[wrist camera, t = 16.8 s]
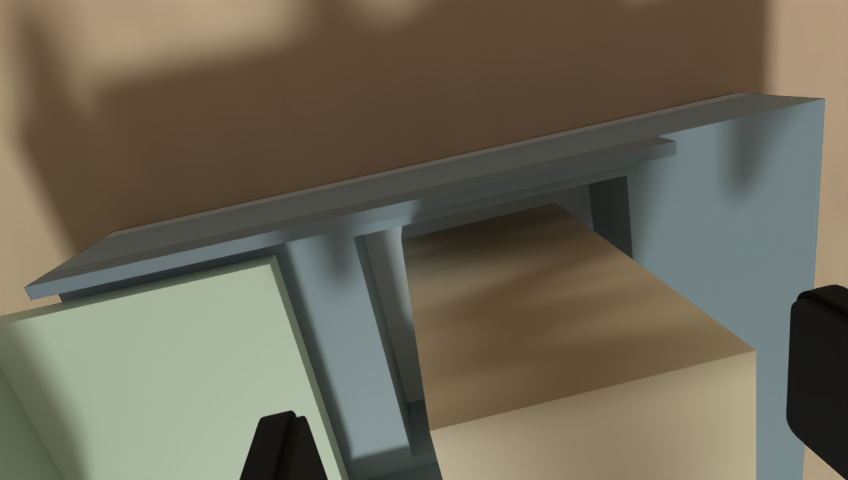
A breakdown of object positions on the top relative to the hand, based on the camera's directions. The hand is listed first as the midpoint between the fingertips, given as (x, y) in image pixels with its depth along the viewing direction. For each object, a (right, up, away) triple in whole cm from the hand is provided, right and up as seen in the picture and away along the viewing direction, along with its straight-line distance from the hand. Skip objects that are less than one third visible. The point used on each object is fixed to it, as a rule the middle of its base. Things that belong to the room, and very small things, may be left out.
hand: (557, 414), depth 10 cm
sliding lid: (-9, -1, +3) cm, 9 cm away
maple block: (0, +2, +5) cm, 6 cm away
